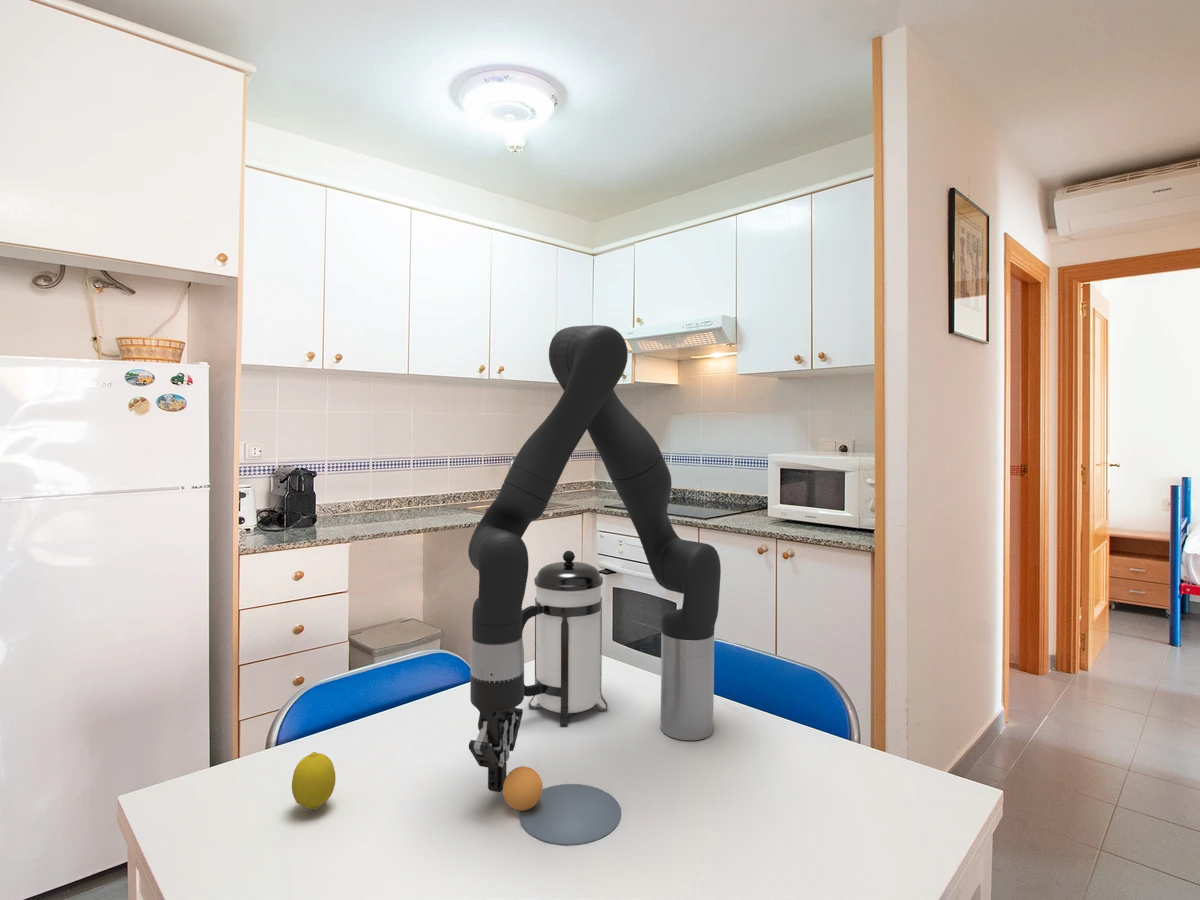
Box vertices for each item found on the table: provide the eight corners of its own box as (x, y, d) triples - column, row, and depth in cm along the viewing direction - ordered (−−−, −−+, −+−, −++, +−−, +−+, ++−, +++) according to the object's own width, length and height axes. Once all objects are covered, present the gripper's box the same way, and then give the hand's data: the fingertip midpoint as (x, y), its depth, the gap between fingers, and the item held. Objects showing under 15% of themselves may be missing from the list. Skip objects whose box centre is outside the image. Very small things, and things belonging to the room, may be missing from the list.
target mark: (542, 778, 99) (542, 777, 99) (632, 794, 95) (632, 793, 95) (501, 833, 86) (501, 831, 86) (604, 854, 82) (604, 852, 82)
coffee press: (533, 690, 132) (533, 542, 131) (612, 695, 130) (613, 545, 129) (509, 729, 115) (509, 559, 114) (600, 736, 113) (601, 562, 112)
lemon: (319, 823, 88) (319, 764, 87) (283, 818, 89) (282, 760, 89) (343, 800, 93) (343, 745, 93) (308, 796, 94) (308, 741, 94)
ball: (528, 750, 94) (556, 779, 92) (511, 773, 96) (538, 801, 94) (505, 773, 89) (534, 804, 87) (488, 796, 91) (516, 827, 90)
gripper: (501, 689, 86) (500, 820, 86) (539, 656, 98) (539, 770, 99) (449, 682, 88) (450, 809, 89) (494, 650, 101) (494, 762, 101)
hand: (497, 788), depth 94 cm, fingers closed
